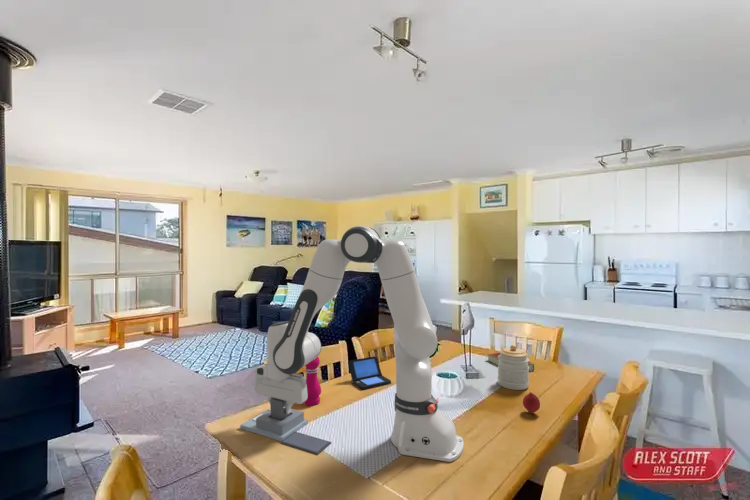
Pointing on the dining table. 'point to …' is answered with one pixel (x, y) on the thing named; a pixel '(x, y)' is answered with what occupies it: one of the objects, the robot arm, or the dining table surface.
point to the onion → (531, 402)
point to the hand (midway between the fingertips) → (280, 411)
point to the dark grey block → (278, 409)
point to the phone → (306, 443)
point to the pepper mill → (312, 383)
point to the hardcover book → (494, 358)
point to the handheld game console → (367, 373)
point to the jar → (513, 368)
